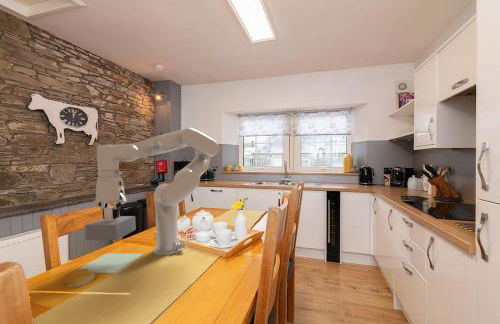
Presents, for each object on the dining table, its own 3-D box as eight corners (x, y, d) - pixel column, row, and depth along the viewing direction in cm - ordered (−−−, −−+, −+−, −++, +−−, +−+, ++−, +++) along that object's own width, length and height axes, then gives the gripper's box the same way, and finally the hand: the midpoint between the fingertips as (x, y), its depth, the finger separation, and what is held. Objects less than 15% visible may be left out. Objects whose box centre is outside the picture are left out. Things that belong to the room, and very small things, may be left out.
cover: (135, 229, 105) (134, 203, 105) (116, 239, 92) (115, 210, 92) (108, 229, 106) (106, 204, 106) (85, 240, 93) (84, 211, 93)
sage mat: (143, 254, 107) (143, 253, 107) (118, 274, 89) (118, 272, 89) (106, 254, 109) (106, 253, 109) (73, 273, 91) (73, 272, 91)
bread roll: (67, 292, 78) (67, 280, 78) (65, 281, 85) (65, 270, 85) (97, 283, 84) (96, 271, 84) (93, 274, 90) (92, 263, 90)
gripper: (133, 173, 102) (135, 215, 102) (96, 174, 103) (99, 216, 103) (122, 174, 94) (124, 220, 95) (83, 175, 96) (85, 221, 96)
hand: (111, 217), depth 99 cm, fingers closed on cover, 3 cm apart
